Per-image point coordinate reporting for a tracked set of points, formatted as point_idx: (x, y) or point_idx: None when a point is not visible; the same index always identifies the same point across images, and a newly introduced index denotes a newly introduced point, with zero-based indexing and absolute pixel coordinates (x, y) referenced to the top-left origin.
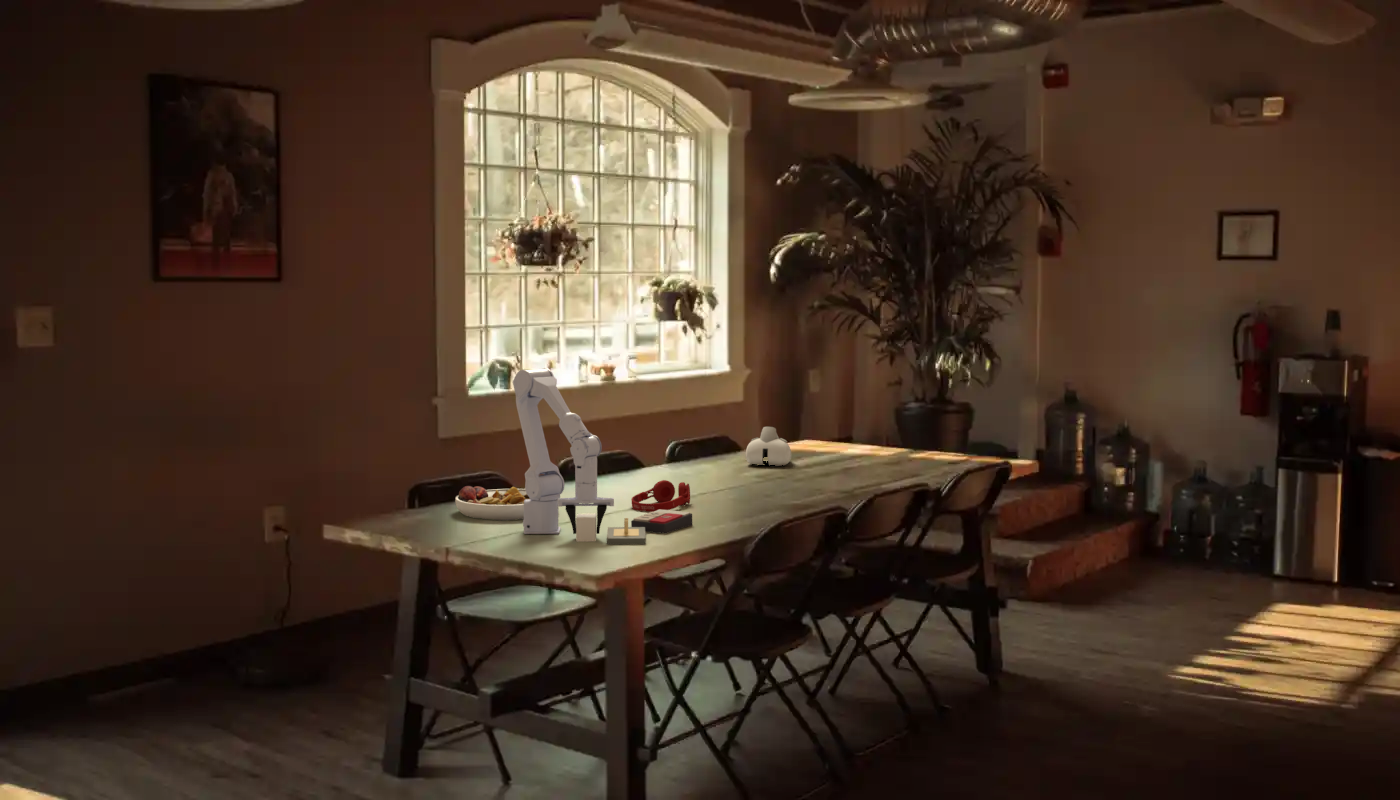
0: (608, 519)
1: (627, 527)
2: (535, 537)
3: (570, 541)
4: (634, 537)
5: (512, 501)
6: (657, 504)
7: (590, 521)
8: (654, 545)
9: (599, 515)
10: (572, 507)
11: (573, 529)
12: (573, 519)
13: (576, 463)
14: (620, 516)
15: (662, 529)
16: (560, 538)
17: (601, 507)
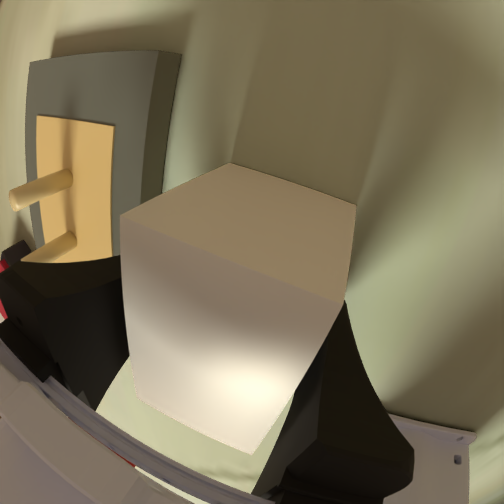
0: (165, 446)
1: (38, 179)
2: (485, 384)
3: (392, 224)
4: (50, 79)
5: None
6: (87, 432)
7: (184, 222)
8: (37, 38)
9: (83, 276)
10: (309, 491)
11: (345, 315)
12: (338, 368)
13: None
14: (145, 444)
15: (18, 249)
16: (406, 331)
17: (21, 319)
